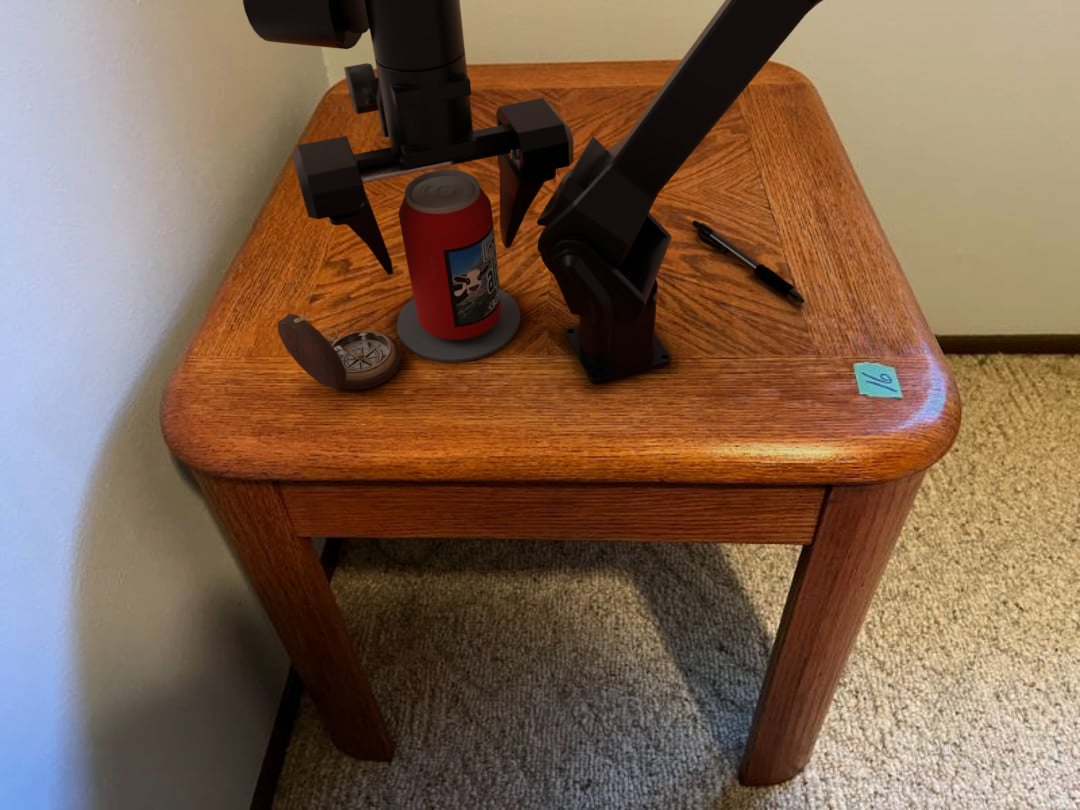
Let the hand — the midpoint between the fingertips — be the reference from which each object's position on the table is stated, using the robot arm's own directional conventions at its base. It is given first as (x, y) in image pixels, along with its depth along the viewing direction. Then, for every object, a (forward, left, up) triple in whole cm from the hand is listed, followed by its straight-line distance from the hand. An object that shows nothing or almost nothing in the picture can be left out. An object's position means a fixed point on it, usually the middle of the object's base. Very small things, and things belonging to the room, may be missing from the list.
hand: (448, 258), depth 65 cm
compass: (-2, +9, -6) cm, 12 cm away
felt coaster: (0, 0, -6) cm, 6 cm away
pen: (-2, -25, -6) cm, 25 cm away
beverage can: (0, 0, -6) cm, 6 cm away
